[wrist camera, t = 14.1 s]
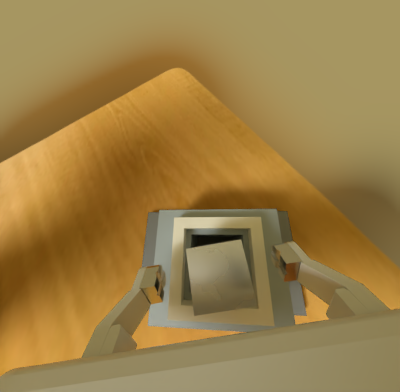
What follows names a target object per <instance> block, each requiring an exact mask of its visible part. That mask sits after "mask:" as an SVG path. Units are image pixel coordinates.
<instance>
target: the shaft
mask: <svg viewBox="0 0 400 392" xmlns="http://www.w3.org/2000/svg"><path fill="white" fill-rule="evenodd" d="M186 254H187V262H188V270H189V278H190V286H191V294H192V302H193V310H194V316H198V315H204V314H210V313H217V312H223V311H229V310H236V309H242V308H248V307H254V306H257V302H256V297H255V293H254V289H253V285H252V281H251V277H250V273H249V269H248V265H247V261H246V257H245V253H244V249H243V245H242V241H241V240H232V241H224V242H218V243H213V244H207V245H201V246H197V247H193V248H188V249H186Z"/></svg>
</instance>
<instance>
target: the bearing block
mask: <svg viewBox="0 0 400 392" xmlns="http://www.w3.org/2000/svg"><path fill="white" fill-rule="evenodd" d="M174 217H261V222H262V230H263V238H264V246H265V254H266V262H267V270H268V277H269V285H270V293H271V301H272V309H273V317H274V325H275V326H262V325H244V324H227V323H210V322H192V321H175V320H167V319H168V304H169V289H170V273H171V258H172V243H173V227H174ZM232 240H241V241H242V245H243V249H244V253H245V257H246V261H247V265H248V269H249V273H250V277H251V281H252V271H251V261H250V250H249V239H248V229H186V249H188V248H193V247H197V246H201V245H207V244H213V243H218V242H224V241H232ZM291 241H293V240H292V234H291V229H290V223H289V218H288V213H287V211H277V209H212V210H159V212H149V213H148V221H147V229H146V237H145V245H144V254H143V262H142V267H148V266H154V265H162V267H163V269H162V270H163V271H165V274H166V285H165V287H164V288H163V290H164V298H163V302H161V303H156V304H151V306H150V309H149V319H148V326H159V327H175V328H191V329H207V330H223V331H239V332H252V331H259V330H265V329H271V328H278V327H284V326H291V325H295V319H294V315H302V316H307V315H306V310H305V304H304V299H303V293H302V288H301V284H300V283H299V282H298V281H297V280H295V281H288V282H284V281H283V279H282V278H281V276H280V275H279V273H278V272H279V269H278V268H276V267H275V266H274V264H273V262H272V260H271V252H272V250H271V246H272V245H274V244H280V243H286V242H291ZM252 285H253V282H252ZM184 300H192V294H191V286H190V278H189V270H188V262H187V254H186V252H185V279H184Z"/></svg>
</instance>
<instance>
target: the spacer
mask: <svg viewBox="0 0 400 392" xmlns="http://www.w3.org/2000/svg"><path fill="white" fill-rule="evenodd" d="M186 229H248V239H249V250H250V261H251V271H252V282H253V289H254V293H255V297H256V302H257V306H254V307H248V308H242V309H236V310H229V311H223V312H217V313H210V314H204V315H198V316H194V310H193V302H192V300H184V279H185V252H186ZM167 320H175V321H192V322H210V323H227V324H244V325H262V326H275V325H274V317H273V309H272V301H271V293H270V285H269V277H268V270H267V262H266V254H265V246H264V238H263V230H262V222H261V217H174V227H173V243H172V258H171V273H170V289H169V304H168V319H167Z"/></svg>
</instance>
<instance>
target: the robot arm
mask: <svg viewBox="0 0 400 392" xmlns="http://www.w3.org/2000/svg"><path fill="white" fill-rule="evenodd" d="M271 250H272V252H271V260H272V262H273V264H274V266H275V267H276V268H278V269H279V272H278V273H279V275H280V276H281V278H282V279H283V281H284V282H288V281H295V280H297V281H298V282H299V283H300V284H302V285H303V286H304V287H306V288H307V289H308V290H310V291H311V292H312V293H314V294H315V295H316V296H318V297H319V298H320V299H322V300H323V301H324V302H326V303H327V304H328V305H329V307H328V310H327V313H326V315H327V317H328V318H329V320H323V321H316V322H310V323H304V324H297V325H291V326H284V327H278V328H271V329H265V330H259V331H252V332H246V333H239V334H233V335H227V336H220V337H214V338H207V339H201V340H194V341H188V342H182V343H175V344H169V345H163V346H156V347H150V348H143V349H137V350H136V347H137V343H136V342H135V340H134V339H133V338H132V337H131V336H132V335H133V333H134V332H135V330H136V328H137V327H138V325H139V324H140V322H141V320H142V319H143V317H144V316H145V314H146V312H147V311H148V309H149V308H150V306H151V304H156V303H161V302H163V298H164V290H163V288H164V287H165V285H166V274H165V271H163V270H162V269H163V267H162V265H154V266H148V267H142V268H140V269H139V271H138V273H137V276H136V279H135V282H134V284H133V287H132V290H131V291H129V292H128V293H127V294H126V295H125V296H124V297H123V298H122V299H121V300H120V302H119V303H118V304H117V305H116V306H115V307H114V308H113V309H112V310H111V311H110V312H109V314H108V315H107V316H106V317H105V318H104V319H103V320H102V321H101V322H100V323H99V325H98V326H97V327H96V328H95V330H94V333H93V335H92V337H91V339H90V341H89V343H88V345H87V347H86V349H85V351H84V353H83V356H82V358H79V359H73V360H67V361H60V362H54V363H47V364H41V365H35V366H28V367H21V368H16V369H12V370H10V371H8V372H6V373H5V374H3V375H2V376H1V377H0V392H400V309H394V310H390V309H389V308H388V307H387V306H386V305H385V304H384V303H383V302H381V301H380V300H379V299H378V298H377V297H376V296H375V295H374V294H373V293H372V292H371V291H369V290H368V289H367V288H366V287H365V286H364V285H363V284H361V283H359V282H357V281H355V280H353V279H351V278H349V277H347V276H345V275H343V274H341V273H339V272H337V271H335V270H333V269H331V268H329V267H327V266H325V265H323V264H321V263H319V262H317V261H315V260H311V259H310V258H309V257H308V256H307V255H306V254H305V252H304V251H303V250H302V249H301V248H300V247H299V246H298V245H297V244H296V243H295V242H294V241H291V242H286V243H280V244H274V245H272V246H271Z"/></svg>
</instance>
